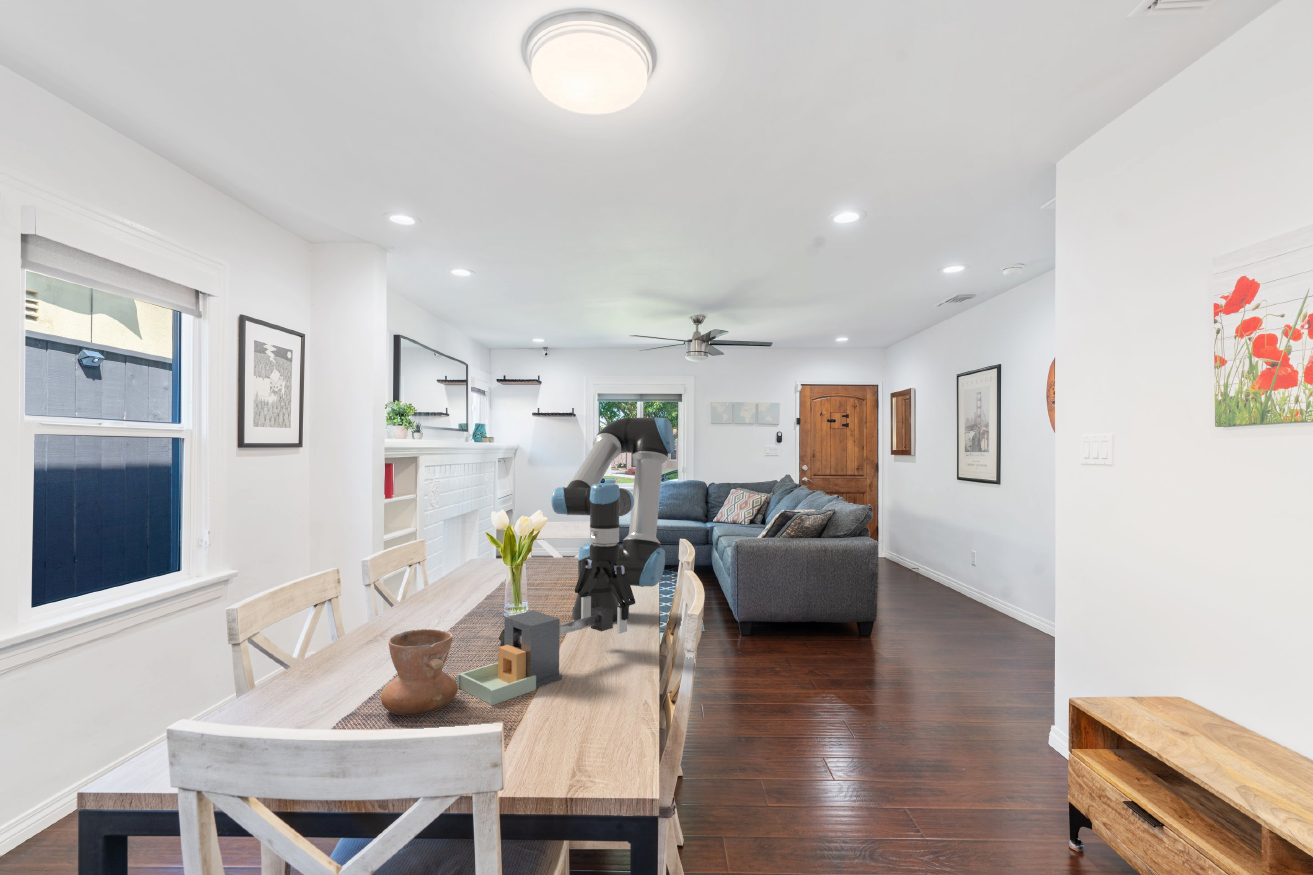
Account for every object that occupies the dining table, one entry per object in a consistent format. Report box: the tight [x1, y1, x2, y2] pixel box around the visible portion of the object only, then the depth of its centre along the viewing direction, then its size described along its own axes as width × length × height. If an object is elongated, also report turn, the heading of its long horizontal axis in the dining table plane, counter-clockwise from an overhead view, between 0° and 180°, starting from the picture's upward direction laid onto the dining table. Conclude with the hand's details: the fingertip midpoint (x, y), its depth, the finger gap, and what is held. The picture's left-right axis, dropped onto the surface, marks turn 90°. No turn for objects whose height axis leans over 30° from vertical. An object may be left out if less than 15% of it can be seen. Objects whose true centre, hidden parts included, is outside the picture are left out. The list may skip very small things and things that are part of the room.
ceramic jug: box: [380, 628, 459, 717], centre depth 124 cm, size 18×14×14 cm
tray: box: [456, 661, 537, 706], centre depth 133 cm, size 11×13×3 cm
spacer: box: [497, 645, 526, 683], centre depth 136 cm, size 2×7×7 cm, turn 48°
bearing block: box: [503, 610, 563, 689], centre depth 140 cm, size 8×12×14 cm, turn 48°
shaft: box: [517, 606, 614, 646], centre depth 148 cm, size 27×4×5 cm, turn 138°
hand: (603, 626), depth 157 cm, fingers open, 13 cm apart
